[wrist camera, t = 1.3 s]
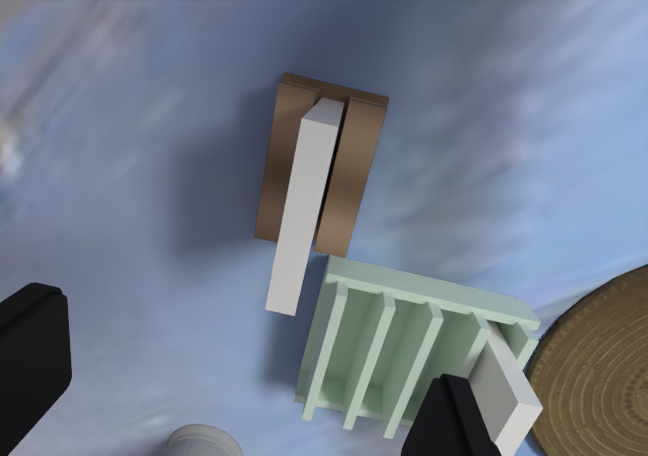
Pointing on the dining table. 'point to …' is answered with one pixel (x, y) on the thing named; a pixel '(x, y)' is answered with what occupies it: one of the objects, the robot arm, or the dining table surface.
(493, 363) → the rack
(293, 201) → the tall white panel
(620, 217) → the dining table surface
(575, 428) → the decorative disc
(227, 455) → the grey black mug
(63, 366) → the robot arm
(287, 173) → the stand
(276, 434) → the dining table surface
